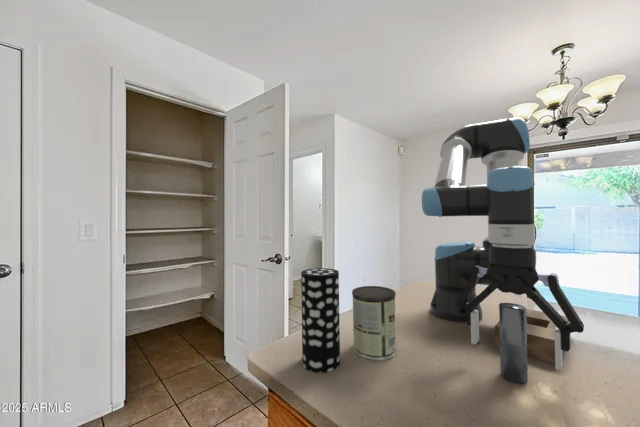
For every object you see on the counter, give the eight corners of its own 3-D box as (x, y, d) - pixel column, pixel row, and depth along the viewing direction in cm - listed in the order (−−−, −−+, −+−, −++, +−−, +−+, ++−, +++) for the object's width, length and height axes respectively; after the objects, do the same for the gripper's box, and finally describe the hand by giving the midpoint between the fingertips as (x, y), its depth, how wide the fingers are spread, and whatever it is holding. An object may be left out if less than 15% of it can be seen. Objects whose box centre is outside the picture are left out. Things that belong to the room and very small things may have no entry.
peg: (497, 377, 53) (496, 306, 54) (503, 368, 57) (502, 301, 57) (525, 387, 50) (523, 311, 50) (529, 377, 53) (528, 306, 53)
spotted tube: (312, 377, 54) (311, 277, 55) (296, 358, 62) (295, 270, 62) (347, 366, 58) (345, 273, 58) (328, 349, 66) (327, 267, 66)
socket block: (495, 346, 66) (494, 325, 66) (514, 323, 80) (513, 306, 80) (560, 365, 57) (560, 341, 57) (569, 335, 71) (568, 316, 71)
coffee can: (357, 337, 72) (356, 284, 72) (397, 343, 68) (396, 287, 69) (348, 356, 62) (347, 295, 62) (395, 364, 59) (393, 299, 59)
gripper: (439, 243, 60) (441, 339, 60) (601, 253, 42) (605, 390, 42) (452, 240, 65) (454, 329, 65) (601, 248, 47) (604, 370, 47)
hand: (513, 353), depth 53 cm, fingers open, 13 cm apart
